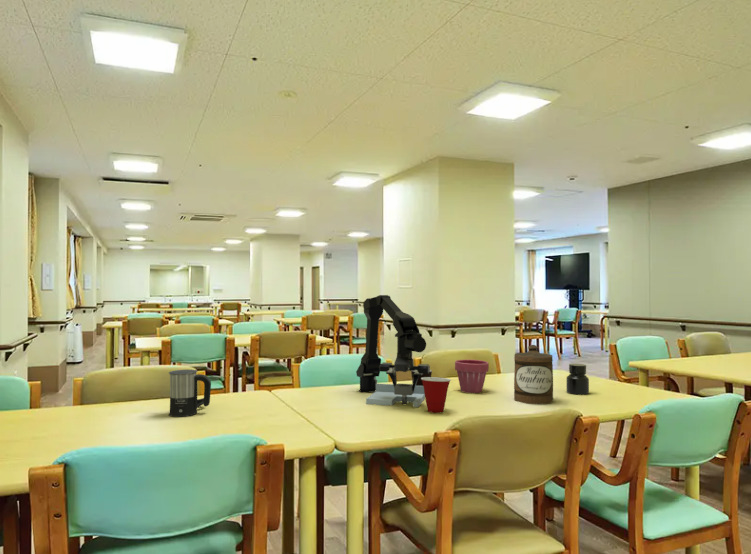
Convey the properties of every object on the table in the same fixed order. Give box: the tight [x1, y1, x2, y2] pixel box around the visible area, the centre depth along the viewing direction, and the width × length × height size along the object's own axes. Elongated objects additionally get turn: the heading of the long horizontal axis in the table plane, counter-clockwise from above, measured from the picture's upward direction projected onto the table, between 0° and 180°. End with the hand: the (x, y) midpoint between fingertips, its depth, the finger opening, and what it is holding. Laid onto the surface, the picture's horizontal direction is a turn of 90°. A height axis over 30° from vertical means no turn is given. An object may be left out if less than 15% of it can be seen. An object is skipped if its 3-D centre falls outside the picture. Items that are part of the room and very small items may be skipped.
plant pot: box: [454, 359, 490, 394], centre depth 229 cm, size 14×14×13 cm
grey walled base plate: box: [365, 383, 425, 408], centre depth 207 cm, size 20×16×5 cm
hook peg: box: [401, 395, 408, 405], centre depth 202 cm, size 2×2×6 cm
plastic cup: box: [421, 376, 452, 414], centre depth 192 cm, size 11×11×12 cm
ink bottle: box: [566, 363, 590, 396], centre depth 227 cm, size 10×9×12 cm
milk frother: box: [168, 369, 212, 418], centre depth 188 cm, size 14×16×15 cm
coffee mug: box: [410, 369, 433, 386], centre depth 222 cm, size 12×9×10 cm
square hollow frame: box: [394, 383, 414, 395], centre depth 202 cm, size 6×6×3 cm
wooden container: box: [513, 344, 554, 405], centre depth 211 cm, size 15×15×22 cm
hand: (404, 390), depth 202 cm, fingers closed on square hollow frame, 6 cm apart
